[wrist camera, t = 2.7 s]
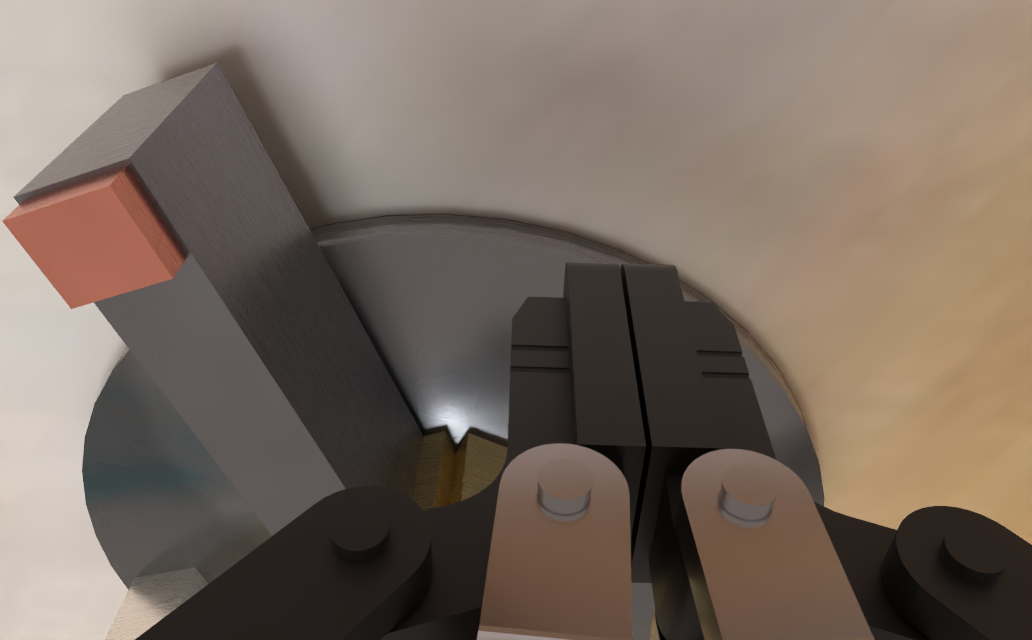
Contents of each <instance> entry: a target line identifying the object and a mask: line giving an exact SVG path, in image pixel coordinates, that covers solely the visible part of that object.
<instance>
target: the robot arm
mask: <svg viewBox="0 0 1032 640" xmlns="http://www.w3.org/2000/svg"><path fill="white" fill-rule="evenodd" d="M631 583H652V590H653V597H654V605H655V611H654V616H653V620H652V625H651V630H650V640H1032V545H1031V544H1029V543H1028V542H1026V541H1025V540H1023V539H1022V538H1020V537H1019V536H1017V535H1016V534H1014V533H1013V532H1011V531H1010V530H1008V529H1007V528H1005V527H1004V526H1002V525H1000V524H999V523H997V522H995V521H994V520H991V519H989V518H987V517H985V516H983V515H981V514H978V513H975V512H972V511H969V510H965V509H961V508H957V507H948V506H932V507H926V508H922V509H919V510H916V511H914V512H912V513H911V514H909V515H908V516H907V517H906V518H905V519H904V520H903V521H902V522H901V524H900V526H899V528H898V530H895V529H891V528H888V527H884V526H881V525H877V524H874V523H870V522H867V521H863V520H860V519H856V518H853V517H849V516H846V515H843V514H840V513H837V512H834V511H832V510H830V509H828V508H825V507H823V506H821V505H820V504H818V503H816V502H814V501H813V499H812V497H811V494H810V492H809V491H808V489H807V487H806V485H805V484H804V483H803V482H802V480H801V479H800V478H799V477H798V476H797V475H796V474H795V473H794V472H793V471H792V470H791V469H789V468H788V467H786V466H785V465H784V464H782V463H780V462H779V461H777V460H776V457H775V454H774V451H773V447H772V444H771V441H770V438H769V435H768V431H767V428H766V425H765V422H764V419H763V416H762V412H761V409H760V406H759V403H758V400H757V397H756V393H755V390H754V387H753V384H752V381H751V379H749V371H748V368H747V365H746V362H745V358H744V357H742V349H741V346H740V343H739V339H738V336H737V333H736V330H735V327H734V325H733V324H732V323H731V322H730V321H729V320H728V319H727V318H726V317H725V315H724V314H723V313H722V312H721V311H720V310H719V309H718V308H717V307H716V306H715V305H714V304H713V303H712V302H689V301H684V297H683V293H682V289H681V285H680V281H679V277H678V273H677V269H676V267H675V266H674V265H648V264H622V265H621V267H619V264H611V263H580V262H566V266H565V276H564V289H563V298H558V297H527V299H526V300H525V302H524V303H523V304H522V306H521V307H520V308H519V310H518V311H517V313H516V314H515V315H514V317H513V318H512V336H511V364H510V391H509V419H508V447H507V456H506V461H505V463H504V466H503V468H502V470H501V471H500V473H499V475H498V476H497V477H496V478H495V480H494V481H493V482H492V483H491V484H490V485H488V486H487V487H486V488H485V489H484V490H482V491H480V492H479V493H477V494H476V495H474V496H472V497H470V498H467V499H465V500H463V501H459V502H456V503H453V504H449V505H445V506H441V507H437V508H433V509H428V510H424V511H423V509H422V508H421V507H420V506H419V505H418V504H417V503H416V502H415V501H414V500H413V499H412V498H410V497H408V496H407V495H405V494H403V493H401V492H399V491H396V490H393V489H390V488H385V487H380V486H358V487H353V488H348V489H344V490H341V491H338V492H335V493H333V494H331V495H329V496H327V497H325V498H323V499H322V500H320V501H318V502H317V503H315V504H314V505H313V506H311V507H310V508H309V509H307V510H306V511H305V512H303V513H302V514H301V515H299V516H298V517H297V518H295V519H294V520H293V521H292V522H290V523H289V524H288V525H286V526H285V527H284V528H282V529H281V530H280V531H278V532H277V533H276V534H274V535H273V536H272V537H270V538H269V539H268V540H266V541H265V542H264V543H262V544H261V545H260V546H258V547H257V548H256V549H254V550H253V551H252V552H250V553H249V554H248V555H246V556H245V557H244V558H242V559H241V560H240V561H238V562H237V563H236V564H234V565H233V566H232V567H230V568H229V569H228V570H226V571H225V572H224V573H222V574H221V575H220V576H218V577H217V578H216V579H215V580H213V581H212V582H211V583H209V584H208V585H207V586H205V587H204V588H203V589H201V590H200V591H199V592H197V593H196V594H195V595H193V596H192V597H191V598H189V599H188V600H187V601H185V602H184V603H183V604H181V605H180V606H179V607H177V608H176V609H175V610H173V611H172V612H171V613H169V614H168V615H167V616H165V617H164V618H163V619H161V620H160V621H159V622H157V623H156V624H155V625H153V626H152V627H151V628H149V629H148V630H147V631H145V632H144V633H143V634H141V635H140V636H139V637H137V638H136V639H135V640H632V589H631Z"/></svg>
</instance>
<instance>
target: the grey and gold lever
mask: <svg viewBox="0 0 1032 640" xmlns="http://www.w3.org/2000/svg"><path fill="white" fill-rule="evenodd" d="M14 198H15V200H16V201H17V202H18V204H19V206H18V207H17V208H16V209H14V210H13V211H12V212H11V213H10V214H9V215H8V216H7V217H6V218H5V219H4V220H3V223H4V224H5V225H6V226H7V228H8V229H9V230H10V231H11V233H12V234H13V235H14V237H15V238H16V239H17V240H18V242H19V243H20V244H21V245H22V247H23V248H24V249H25V251H26V252H27V253H28V254H29V256H30V257H31V258H32V259H33V261H34V262H35V263H36V265H37V266H38V267H39V268H40V270H41V271H42V272H43V273H44V275H45V276H46V277H47V279H48V280H49V281H50V282H51V284H52V285H53V286H54V287H55V289H56V290H57V291H58V293H59V294H60V295H61V296H62V298H63V299H64V300H65V301H66V303H67V304H68V305H69V307H70V308H71V309H73V308H76V307H79V306H83V305H86V304H90V303H93V302H94V303H95V304H96V306H97V307H98V308H99V310H100V311H101V312H102V314H103V315H104V316H105V318H106V319H107V320H108V322H109V323H110V324H111V325H112V327H113V328H114V329H115V331H116V332H117V333H118V335H119V336H120V337H121V339H122V340H123V341H124V342H125V344H126V345H127V346H128V348H129V349H130V350H131V352H132V353H133V354H134V356H135V357H136V358H137V359H138V361H139V362H140V363H141V365H142V366H143V367H144V369H145V370H146V371H147V373H148V374H149V375H150V377H151V378H152V379H153V380H154V382H155V383H156V384H157V386H158V387H159V388H160V390H161V391H162V392H163V394H164V395H165V396H166V397H167V399H168V400H169V401H170V403H171V404H172V405H173V407H174V408H175V409H176V411H177V412H178V413H179V415H180V416H181V417H182V418H183V420H184V421H185V422H186V424H187V425H188V426H189V428H190V429H191V430H192V432H193V433H194V434H195V435H196V437H197V438H198V439H199V441H200V442H201V443H202V445H203V446H204V447H205V449H206V450H207V451H208V452H209V454H210V455H211V456H212V458H213V459H214V460H215V462H216V463H217V464H218V466H219V467H220V468H221V470H222V471H223V472H224V473H225V475H226V476H227V477H228V479H229V480H230V481H231V483H232V484H233V485H234V487H235V488H236V489H237V490H238V492H239V493H240V494H241V496H242V497H243V498H244V500H245V501H246V502H247V504H248V505H249V506H250V508H251V509H252V510H253V511H254V513H255V514H256V515H257V517H258V518H259V519H260V521H261V522H262V523H263V525H264V526H265V527H266V528H267V530H268V531H269V532H270V534H271V535H272V536H273V535H274V534H276V533H277V532H278V531H280V530H281V529H282V528H284V527H285V526H286V525H288V524H289V523H290V522H292V521H293V520H294V519H295V518H297V517H298V516H299V515H301V514H302V513H303V512H305V511H306V510H307V509H309V508H310V507H311V506H313V505H314V504H315V503H317V502H318V501H320V500H322V499H323V498H325V497H327V496H329V495H331V494H333V493H335V492H338V491H341V490H344V489H348V488H353V487H358V486H380V487H385V488H390V489H393V490H396V491H399V492H401V493H403V494H405V495H407V496H408V497H410V498H412V499H413V500H414V501H415V502H416V503H417V504H418V505H419V506H420V507H421V508H422V509H423V511H424V510H428V509H433V508H437V507H441V506H445V505H449V504H453V503H456V502H459V501H463V500H465V499H467V498H470V497H472V496H474V495H476V494H477V493H479V492H480V491H482V490H484V489H485V488H486V487H487V486H488V485H490V484H491V483H492V482H493V481H494V480H495V478H496V477H497V476H498V475H499V473H500V471H501V470H502V468H503V466H504V463H505V461H506V456H507V447H505V446H502V445H499V444H497V443H494V442H491V441H489V440H486V439H483V438H481V437H478V436H475V435H472V434H470V433H468V434H467V436H466V438H465V439H464V441H463V442H462V444H461V446H460V447H459V449H458V450H457V452H455V450H454V448H453V446H452V444H451V443H450V441H449V439H448V437H447V435H446V433H445V431H444V432H440V433H435V434H431V435H427V436H423V434H422V432H421V431H420V429H419V427H418V425H417V423H416V422H415V420H414V418H413V416H412V414H411V413H410V411H409V409H408V407H407V405H406V403H405V402H404V400H403V398H402V396H401V394H400V393H399V391H398V389H397V387H396V385H395V383H394V382H393V380H392V378H391V376H390V374H389V373H388V371H387V369H386V367H385V365H384V363H383V362H382V360H381V358H380V356H379V354H378V353H377V351H376V349H375V347H374V345H373V344H372V342H371V340H370V338H369V336H368V334H367V333H366V331H365V329H364V327H363V325H362V324H361V322H360V320H359V318H358V316H357V314H356V313H355V311H354V309H353V307H352V305H351V304H350V302H349V300H348V298H347V296H346V294H345V293H344V291H343V289H342V287H341V285H340V284H339V282H338V280H337V278H336V276H335V275H334V273H333V271H332V269H331V267H330V265H329V264H328V262H327V260H326V258H325V256H324V255H323V253H322V251H321V249H320V247H319V245H318V244H317V242H316V240H315V238H314V236H313V235H312V233H311V231H310V229H309V227H308V225H307V224H306V222H305V220H304V218H303V216H302V215H301V213H300V211H299V209H298V207H297V206H296V204H295V202H294V200H293V198H292V196H291V195H290V193H289V191H288V189H287V187H286V186H285V184H284V182H283V180H282V178H281V176H280V175H279V173H278V171H277V169H276V167H275V166H274V164H273V162H272V160H271V158H270V157H269V155H268V153H267V151H266V149H265V147H264V146H263V144H262V142H261V140H260V138H259V137H258V135H257V133H256V131H255V129H254V127H253V126H252V124H251V122H250V120H249V118H248V117H247V115H246V113H245V111H244V109H243V107H242V106H241V104H240V102H239V100H238V98H237V97H236V95H235V93H234V91H233V89H232V88H231V86H230V84H229V82H228V80H227V78H226V77H225V75H224V73H223V71H222V69H221V68H220V66H219V64H218V62H217V63H214V64H211V65H208V66H205V67H203V68H200V69H197V70H194V71H191V72H189V73H186V74H183V75H180V76H177V77H175V78H172V79H169V80H166V81H163V82H160V83H158V84H155V85H152V86H149V87H146V88H144V89H141V90H138V91H135V92H132V93H130V94H127V95H124V96H123V97H122V98H120V99H119V100H118V101H117V102H116V103H115V104H114V105H113V106H112V107H111V108H110V109H109V110H107V111H106V112H105V113H104V114H103V115H102V116H101V117H100V118H99V119H98V120H97V121H95V122H94V123H93V124H92V125H91V126H90V127H89V128H88V129H87V130H86V131H85V132H84V133H82V134H81V135H80V136H79V137H78V138H77V139H76V140H75V141H74V142H73V143H72V144H71V145H69V146H68V147H67V148H66V149H65V150H64V151H63V152H62V153H61V154H60V155H59V156H58V157H56V158H55V159H54V160H53V161H52V162H51V163H50V164H49V165H48V166H47V167H46V168H45V169H43V170H42V171H41V172H40V173H39V174H38V175H37V176H36V177H35V178H34V179H33V180H31V181H30V182H29V183H28V184H27V185H26V186H25V187H24V188H23V189H22V190H21V191H20V192H18V193H17V194H16V195H15V196H14ZM632 640H633V631H632Z"/></svg>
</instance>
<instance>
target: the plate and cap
mask: <svg viewBox="0 0 1032 640" xmlns="http://www.w3.org/2000/svg"><path fill="white" fill-rule="evenodd" d="M310 231H311V233H312V235H313V236H314V238H315V240H316V242H317V244H318V245H319V247H320V249H321V251H322V253H323V255H324V256H325V258H326V260H327V262H328V264H329V265H330V267H331V269H332V271H333V273H334V275H335V276H336V278H337V280H338V282H339V284H340V285H341V287H342V289H343V291H344V293H345V294H346V296H347V298H348V300H349V302H350V304H351V305H352V307H353V309H354V311H355V313H356V314H357V316H358V318H359V320H360V322H361V324H362V325H363V327H364V329H365V331H366V333H367V334H368V336H369V338H370V340H371V342H372V344H373V345H374V347H375V349H376V351H377V353H378V354H379V356H380V358H381V360H382V362H383V363H384V365H385V367H386V369H387V371H388V373H389V374H390V376H391V378H392V380H393V382H394V383H395V385H396V387H397V389H398V391H399V393H400V394H401V396H402V398H403V400H404V402H405V403H406V405H407V407H408V409H409V411H410V413H411V414H412V416H413V418H414V420H415V422H416V423H417V425H418V427H419V429H420V431H421V432H422V434H423V436H427V435H431V434H435V433H440V432H444V431H445V433H446V435H447V437H448V439H449V441H450V443H451V444H452V446H453V448H454V450H455V452H457V450H458V449H459V447H460V446H461V444H462V442H463V441H464V439H465V438H466V436H467V434H468V433H470V434H472V435H475V436H478V437H481V438H483V439H486V440H489V441H491V442H494V443H497V444H499V445H502V446H505V447H508V419H509V391H510V364H511V336H512V318H513V317H514V315H515V314H516V313H517V311H518V310H519V308H520V307H521V306H522V304H523V303H524V302H525V300H526V299H527V297H558V298H563V289H564V276H565V266H566V262H580V263H611V264H619V267H621V265H622V264H648V263H646V262H644V261H642V260H640V259H638V258H636V257H633V256H631V255H629V254H627V253H625V252H623V251H621V250H618V249H615V248H612V247H609V246H606V245H603V244H600V243H597V242H594V241H591V240H588V239H585V238H582V237H579V236H576V235H573V234H570V233H567V232H564V231H559V230H554V229H550V228H545V227H540V226H535V225H530V224H525V223H521V222H516V221H511V220H505V219H494V218H483V217H472V216H461V215H449V214H439V215H400V216H383V217H376V218H369V219H362V220H356V221H349V222H342V223H335V224H329V225H326V226H322V227H318V228H315V229H311V230H310ZM648 265H650V264H648ZM679 281H680V280H679ZM680 285H681V289H682V293H683V297H684V301H689V302H712V301H711V300H709V299H708V298H706V297H705V296H703V295H701V294H700V293H698V292H697V291H695V290H694V289H692V288H691V287H689V286H688V285H686V284H685V283H683V282H681V281H680ZM712 303H713V302H712ZM713 304H714V305H715V306H716V307H717V308H718V309H719V310H720V311H721V312H722V313H723V314H724V315H725V317H726V318H727V319H728V320H729V321H730V322H731V323H732V324H733V325H734V327H735V330H736V333H737V336H738V339H739V343H740V346H741V349H742V357H744V358H745V362H746V365H747V368H748V371H749V379H751V381H752V384H753V387H754V390H755V393H756V397H757V400H758V403H759V406H760V409H761V412H762V416H763V419H764V422H765V425H766V428H767V431H768V435H769V438H770V441H771V444H772V447H773V451H774V454H775V457H776V460H777V461H779V462H780V463H782V464H784V465H785V466H786V467H788V468H789V469H791V470H792V471H793V472H794V473H795V474H796V475H797V476H798V477H799V478H800V479H801V480H802V482H803V483H804V484H805V485H806V487H807V489H808V491H809V492H810V494H811V497H812V499H813V501H814V502H816V503H818V504H820V505H821V506H823V507H824V493H823V486H822V480H821V473H820V467H819V462H818V459H817V456H816V454H815V451H814V448H813V445H812V442H811V440H810V437H809V434H808V431H807V429H806V426H805V423H804V420H803V418H802V415H801V412H800V409H799V407H798V404H797V401H796V399H795V397H794V396H793V394H792V392H791V391H790V389H789V387H788V386H787V384H786V382H785V380H784V379H783V377H782V375H781V374H780V372H779V370H778V369H777V367H776V365H775V364H774V363H773V362H772V361H771V359H770V358H769V357H768V356H767V355H766V353H765V352H764V351H763V350H762V349H761V348H760V346H759V345H758V344H757V343H756V342H755V340H754V339H753V338H752V337H751V336H750V334H749V333H748V332H747V331H746V330H744V329H743V328H742V327H741V326H740V325H739V324H737V323H736V322H735V321H734V320H733V319H732V318H731V317H729V316H728V315H727V314H726V313H725V312H724V311H723V310H721V309H720V308H719V307H718V306H717V305H716V304H715V303H713ZM82 474H83V482H84V490H85V498H86V505H87V508H88V512H89V515H90V518H91V521H92V524H93V527H94V531H95V534H96V537H97V539H98V540H99V542H100V544H101V546H102V548H103V550H104V552H105V554H106V556H107V558H108V560H109V562H110V564H111V566H112V567H113V569H114V570H115V572H116V573H117V574H118V576H119V577H120V579H121V580H122V581H123V583H124V584H125V586H126V587H127V588H128V592H127V594H126V597H125V599H124V601H123V603H122V605H121V607H120V609H119V611H118V613H117V616H116V618H115V620H114V622H113V624H112V626H111V628H110V630H109V632H108V635H107V637H106V639H105V640H135V639H136V638H137V637H139V636H140V635H141V634H143V633H144V632H145V631H147V630H148V629H149V628H151V627H152V626H153V625H155V624H156V623H157V622H159V621H160V620H161V619H163V618H164V617H165V616H167V615H168V614H169V613H171V612H172V611H173V610H175V609H176V608H177V607H179V606H180V605H181V604H183V603H184V602H185V601H187V600H188V599H189V598H191V597H192V596H193V595H195V594H196V593H197V592H199V591H200V590H201V589H203V588H204V587H205V586H207V585H208V584H209V583H211V582H212V581H213V580H215V579H216V578H217V577H218V576H220V575H221V574H222V573H224V572H225V571H226V570H228V569H229V568H230V567H232V566H233V565H234V564H236V563H237V562H238V561H240V560H241V559H242V558H244V557H245V556H246V555H248V554H249V553H250V552H252V551H253V550H254V549H256V548H257V547H258V546H260V545H261V544H262V543H264V542H265V541H266V540H268V539H269V538H270V537H272V535H271V534H270V532H269V531H268V530H267V528H266V527H265V526H264V525H263V523H262V522H261V521H260V519H259V518H258V517H257V515H256V514H255V513H254V511H253V510H252V509H251V508H250V506H249V505H248V504H247V502H246V501H245V500H244V498H243V497H242V496H241V494H240V493H239V492H238V490H237V489H236V488H235V487H234V485H233V484H232V483H231V481H230V480H229V479H228V477H227V476H226V475H225V473H224V472H223V471H222V470H221V468H220V467H219V466H218V464H217V463H216V462H215V460H214V459H213V458H212V456H211V455H210V454H209V452H208V451H207V450H206V449H205V447H204V446H203V445H202V443H201V442H200V441H199V439H198V438H197V437H196V435H195V434H194V433H193V432H192V430H191V429H190V428H189V426H188V425H187V424H186V422H185V421H184V420H183V418H182V417H181V416H180V415H179V413H178V412H177V411H176V409H175V408H174V407H173V405H172V404H171V403H170V401H169V400H168V399H167V397H166V396H165V395H164V394H163V392H162V391H161V390H160V388H159V387H158V386H157V384H156V383H155V382H154V380H153V379H152V378H151V377H150V375H149V374H148V373H147V371H146V370H145V369H144V367H143V366H142V365H141V363H140V362H139V361H138V359H137V358H136V357H135V356H134V354H133V353H132V352H131V350H130V349H129V348H127V349H126V351H125V352H124V354H123V355H122V357H121V358H120V360H119V361H118V363H117V365H116V366H115V368H114V369H113V371H112V373H111V375H110V376H109V378H108V380H107V382H106V384H105V386H104V388H103V389H102V391H101V393H100V395H99V397H98V399H97V401H96V402H95V405H94V408H93V412H92V415H91V419H90V422H89V425H88V429H87V432H86V435H85V443H84V455H83V468H82ZM631 589H632V631H633V640H650V630H651V625H652V620H653V616H654V611H655V605H654V597H653V590H652V583H631Z"/></svg>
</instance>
